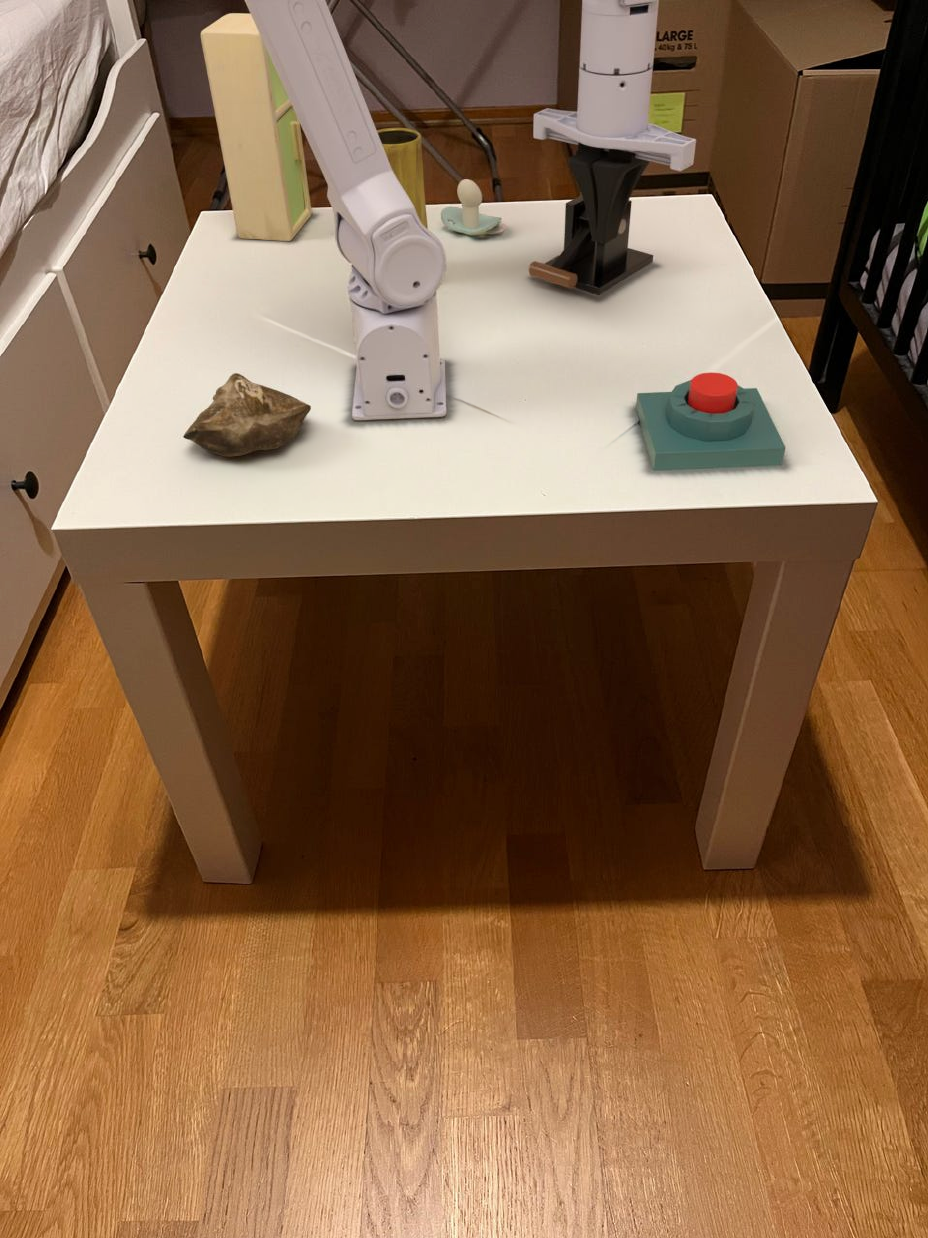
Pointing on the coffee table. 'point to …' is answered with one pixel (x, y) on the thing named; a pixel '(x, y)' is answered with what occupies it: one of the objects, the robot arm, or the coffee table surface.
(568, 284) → the lever
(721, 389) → the button
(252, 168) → the toy refrigerator
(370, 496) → the coffee table surface
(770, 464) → the button block
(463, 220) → the pacifier
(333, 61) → the robot arm
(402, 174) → the vase
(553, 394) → the coffee table surface
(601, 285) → the bracket
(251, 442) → the fossilized seashell
